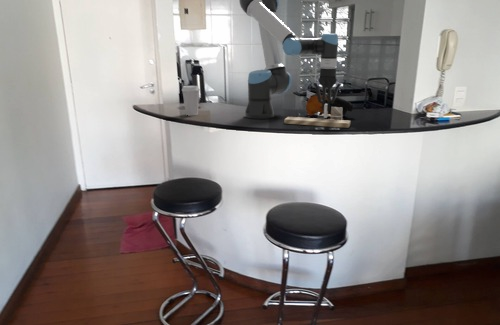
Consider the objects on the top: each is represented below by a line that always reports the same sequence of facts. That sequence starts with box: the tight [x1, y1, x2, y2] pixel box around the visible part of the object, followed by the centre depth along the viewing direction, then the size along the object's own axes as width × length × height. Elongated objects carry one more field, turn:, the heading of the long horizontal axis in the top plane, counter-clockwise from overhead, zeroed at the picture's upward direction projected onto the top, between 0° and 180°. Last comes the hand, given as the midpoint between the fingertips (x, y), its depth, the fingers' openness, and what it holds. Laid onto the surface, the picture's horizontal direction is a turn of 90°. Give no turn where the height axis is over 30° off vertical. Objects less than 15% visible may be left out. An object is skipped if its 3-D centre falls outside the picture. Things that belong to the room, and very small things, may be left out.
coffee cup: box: [181, 85, 201, 117], centre depth 205 cm, size 10×10×15 cm
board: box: [283, 116, 351, 129], centre depth 182 cm, size 30×7×2 cm, turn 70°
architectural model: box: [327, 107, 343, 120], centre depth 186 cm, size 3×7×7 cm, turn 64°
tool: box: [305, 93, 355, 118], centre depth 201 cm, size 8×23×15 cm, turn 72°
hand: (325, 117), depth 189 cm, fingers closed
